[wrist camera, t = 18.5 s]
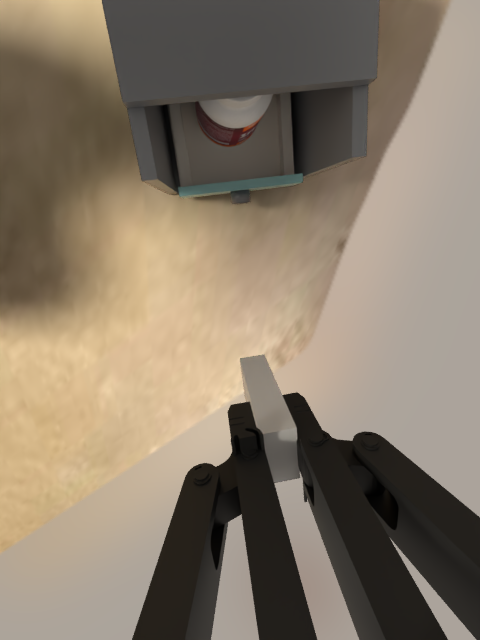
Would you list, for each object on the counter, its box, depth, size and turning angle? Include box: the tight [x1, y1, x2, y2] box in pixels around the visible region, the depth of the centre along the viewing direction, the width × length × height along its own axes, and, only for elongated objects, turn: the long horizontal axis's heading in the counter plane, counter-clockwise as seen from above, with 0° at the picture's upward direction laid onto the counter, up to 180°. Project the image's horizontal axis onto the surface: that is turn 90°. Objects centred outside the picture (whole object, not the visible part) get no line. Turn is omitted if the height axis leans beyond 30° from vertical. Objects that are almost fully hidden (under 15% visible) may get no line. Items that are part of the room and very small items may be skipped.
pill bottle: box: [195, 94, 273, 147], centre depth 25 cm, size 6×6×11 cm
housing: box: [102, 0, 379, 194], centre depth 23 cm, size 18×15×16 cm
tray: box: [167, 92, 303, 204], centre depth 28 cm, size 18×12×4 cm, turn 7°
